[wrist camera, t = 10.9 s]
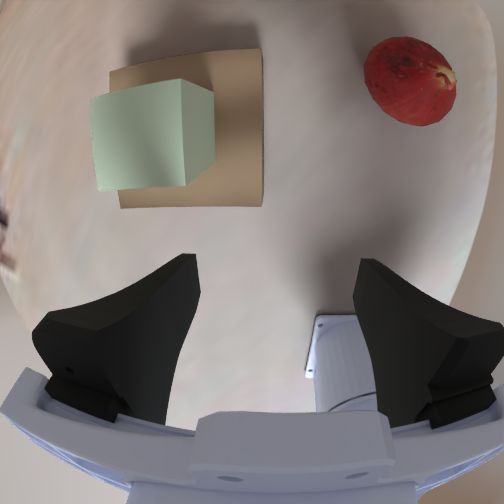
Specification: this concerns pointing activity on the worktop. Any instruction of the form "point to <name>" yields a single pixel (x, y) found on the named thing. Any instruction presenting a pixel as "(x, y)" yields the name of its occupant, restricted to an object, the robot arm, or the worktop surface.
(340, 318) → the robot arm
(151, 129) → the sage block
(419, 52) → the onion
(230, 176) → the walnut base
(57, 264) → the worktop surface
